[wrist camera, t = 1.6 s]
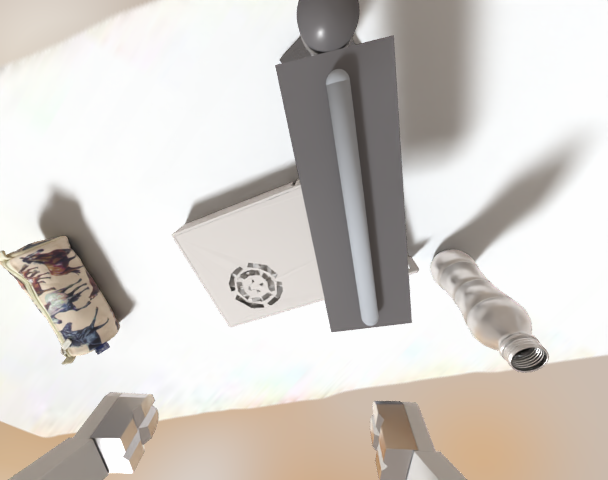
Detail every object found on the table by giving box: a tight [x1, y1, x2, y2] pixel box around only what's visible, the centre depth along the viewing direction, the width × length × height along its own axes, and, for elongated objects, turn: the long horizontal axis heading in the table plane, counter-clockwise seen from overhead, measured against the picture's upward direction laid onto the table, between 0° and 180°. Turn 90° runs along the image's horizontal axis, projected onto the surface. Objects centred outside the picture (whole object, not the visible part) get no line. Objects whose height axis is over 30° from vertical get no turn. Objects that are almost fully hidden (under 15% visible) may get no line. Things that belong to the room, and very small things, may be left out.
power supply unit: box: [172, 179, 419, 327], centre depth 44 cm, size 19×33×5 cm, turn 112°
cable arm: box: [275, 0, 412, 332], centre depth 23 cm, size 28×8×5 cm, turn 12°
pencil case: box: [0, 236, 120, 364], centre depth 48 cm, size 22×8×10 cm, turn 12°
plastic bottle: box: [430, 249, 549, 373], centre depth 37 cm, size 6×7×20 cm
